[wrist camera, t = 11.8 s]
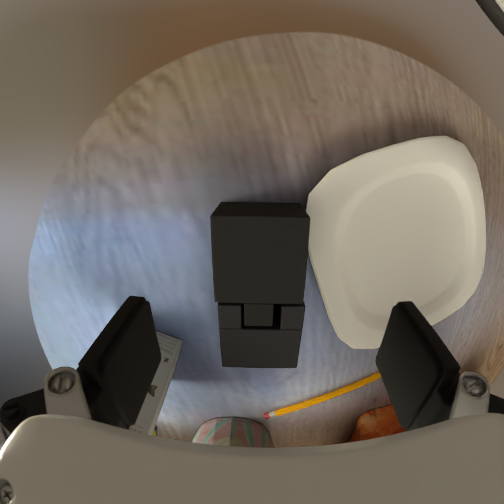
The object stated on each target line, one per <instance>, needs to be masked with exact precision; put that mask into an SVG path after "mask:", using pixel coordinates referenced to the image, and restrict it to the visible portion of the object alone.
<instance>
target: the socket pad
mask: <svg viewBox="0 0 504 504" xmlns="http://www.w3.org/2000/svg"><path fill="white" fill-rule="evenodd" d="M304 312H305V305H304V301H303V303H302V304H274V307H273V325H272V326H245V325H244V303H225V302H218V320H219V333H220V346H221V358H222V366H223V367H243V368H296V367H297V362H298V356H299V349H300V342H301V335H302V328H303V320H304Z"/></svg>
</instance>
